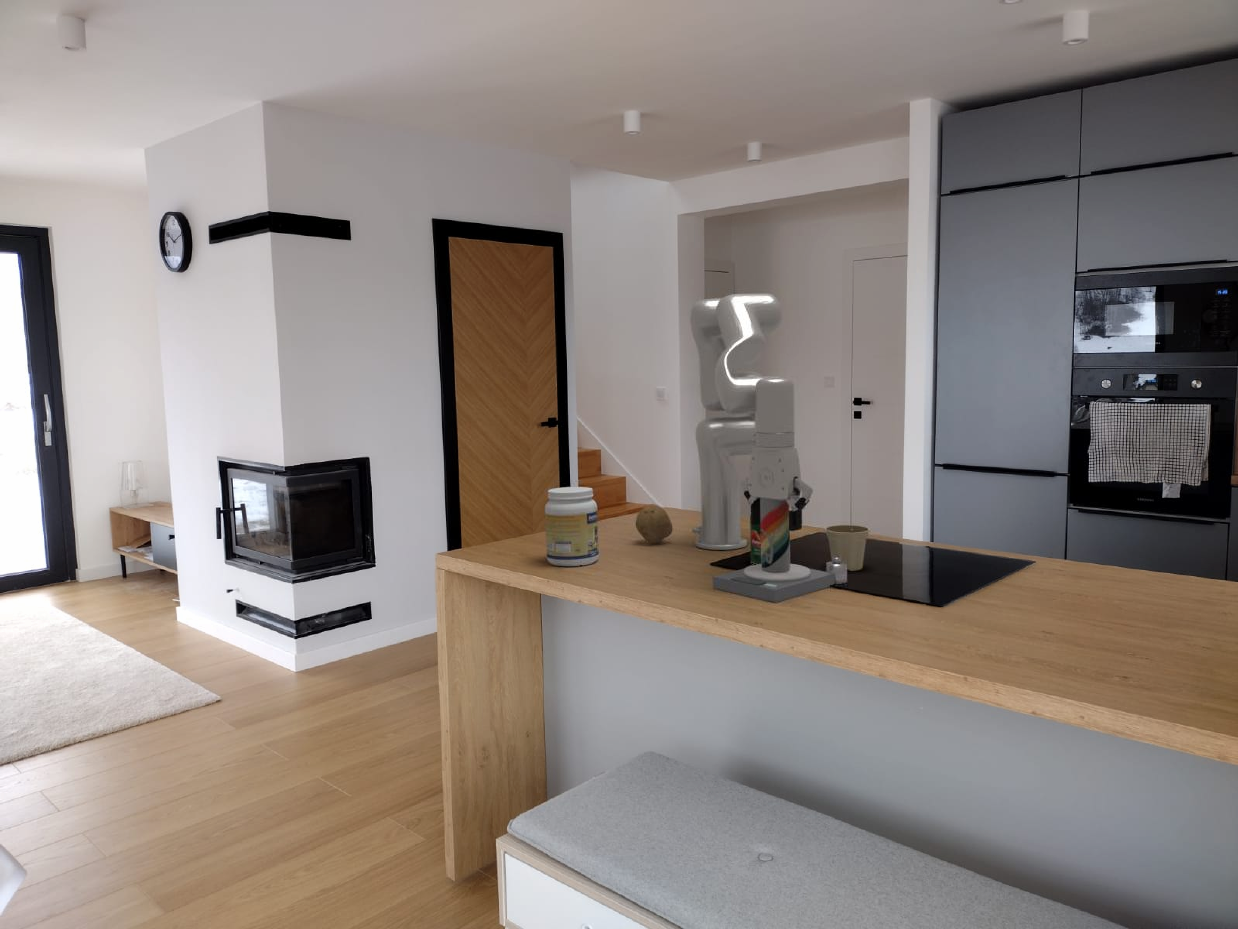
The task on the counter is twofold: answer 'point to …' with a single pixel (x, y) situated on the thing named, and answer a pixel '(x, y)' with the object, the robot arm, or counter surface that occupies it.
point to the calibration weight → (837, 569)
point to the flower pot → (848, 544)
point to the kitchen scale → (773, 582)
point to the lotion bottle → (775, 535)
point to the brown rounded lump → (653, 523)
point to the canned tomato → (755, 543)
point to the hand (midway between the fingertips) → (775, 527)
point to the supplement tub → (571, 526)
